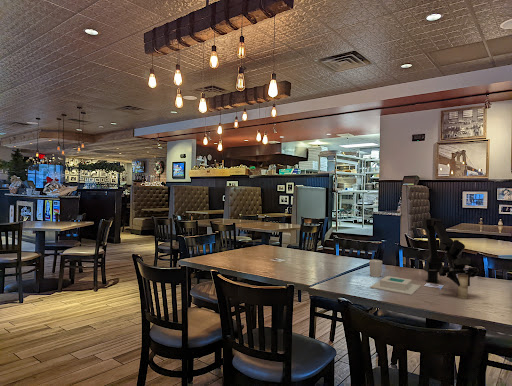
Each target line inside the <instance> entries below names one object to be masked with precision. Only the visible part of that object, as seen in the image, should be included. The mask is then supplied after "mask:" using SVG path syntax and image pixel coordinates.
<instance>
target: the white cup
mask: <svg viewBox="0 0 512 386" xmlns="http://www.w3.org/2000/svg"><path fill="white" fill-rule="evenodd" d="M382 270H383V260H380V259H369V277H372V278H380V277H381V276H382Z"/></svg>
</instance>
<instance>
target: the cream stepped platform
mask: <svg viewBox="0 0 512 386" xmlns="http://www.w3.org/2000/svg"><path fill="white" fill-rule="evenodd" d="M412 282H413V279H409V278H402V277H396V276H390V275H386V276H385V277H383V278H381V279H379V281H377V282H376V283H374V284H372V285H371V286H369V289H375V290H379V291H385V292H390V293H397V294H402V295H407V296H412V295H414V294H415V293H416V292H417V291H418V290H419V289H420V288H421V287H422V285H420V284H414V283H412Z"/></svg>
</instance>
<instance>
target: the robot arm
mask: <svg viewBox="0 0 512 386" xmlns="http://www.w3.org/2000/svg"><path fill="white" fill-rule="evenodd" d="M422 225H423V226H422V227H423V229H424V230H425V232H426V235H427V236H426V237H427V245H428V248H427V249H428V257H427V258H426V263H425V265H424V267H423V271H424V272H427V278H426V280H425V282H429V283H433V284H434V283H435V284H438V283H439V282H440V280H439V277H446V278H448V279H449V280H451V281H452V282H453V283H454V284H455V285H457V287H458V286H460V283H459V280H458V274H466V275H468V287H470V286H471V278H475V277H476V276H477V275H478V274H479V272H480V270H479V268H478V267H475V266H474V267H472V266H471V267H468V268H467V269H465V268H466V266H468V265H470V264H471V262H472V261H471V258H470V257H464V258H462V257H461V258H460V257H459V256H460V255H461V254H462V252H464V250H465V248H466V245H465V243H463V242H461V241H459V239H454V240H453V239H452V238H451V237H450V236H449V235H448V233H447V231H446V229H445V227H444V225H443V221H442V220H441V219H436V218H434V217H433V218H432V217H431V218H430V217H429V218H424V219H423V220H422ZM437 238H438V239H439V243H438V244H439V249H440V251H441V252H445V254H444V259H446V260H447V262H448V264H447V265H448V266H444V265H443V259H442V257H440V256H439V253H438V244H437Z"/></svg>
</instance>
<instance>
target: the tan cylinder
mask: <svg viewBox="0 0 512 386" xmlns="http://www.w3.org/2000/svg"><path fill="white" fill-rule="evenodd" d="M457 278H458V280H459V283H460V286H458V285H457V298H458V299H461V300H467V299H468V298H469V297H468V295H469V291H468V290H469V286H468V275H466V274H458V273H457Z"/></svg>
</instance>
